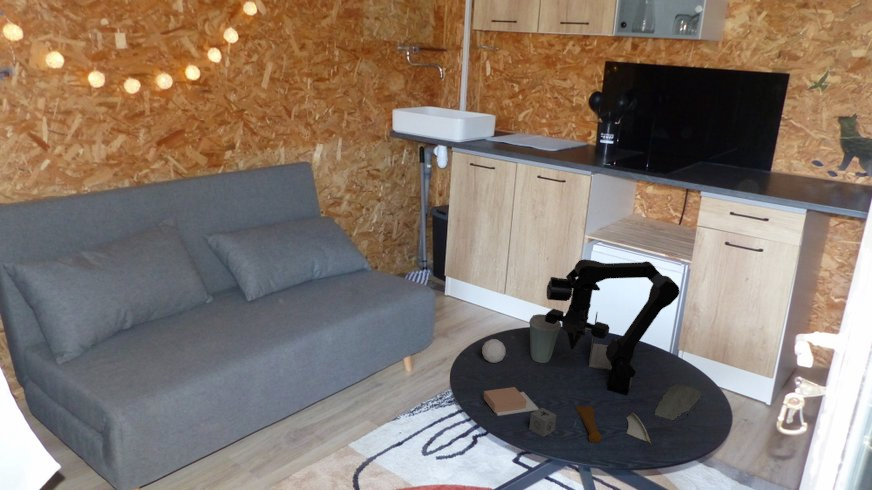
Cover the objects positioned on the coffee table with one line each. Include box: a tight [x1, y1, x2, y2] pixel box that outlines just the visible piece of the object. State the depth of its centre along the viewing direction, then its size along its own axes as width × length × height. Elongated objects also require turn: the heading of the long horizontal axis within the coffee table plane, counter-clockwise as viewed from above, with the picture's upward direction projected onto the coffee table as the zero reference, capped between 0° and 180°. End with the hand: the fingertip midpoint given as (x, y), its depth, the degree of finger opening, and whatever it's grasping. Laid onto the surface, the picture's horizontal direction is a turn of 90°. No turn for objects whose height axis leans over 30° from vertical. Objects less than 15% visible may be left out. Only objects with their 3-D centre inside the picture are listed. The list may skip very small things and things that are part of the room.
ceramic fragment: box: [625, 412, 652, 446], centre depth 196 cm, size 14×5×4 cm, turn 7°
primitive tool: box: [574, 405, 603, 444], centre depth 198 cm, size 19×6×4 cm, turn 0°
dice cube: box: [528, 407, 557, 438], centre depth 194 cm, size 5×5×5 cm
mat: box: [494, 391, 539, 417], centre depth 207 cm, size 13×10×1 cm
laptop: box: [588, 311, 612, 371], centre depth 237 cm, size 18×12×13 cm
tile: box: [483, 386, 527, 413], centre depth 206 cm, size 3×8×10 cm
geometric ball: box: [481, 338, 506, 364], centre depth 232 cm, size 8×8×8 cm
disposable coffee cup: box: [528, 313, 562, 364], centre depth 234 cm, size 11×11×15 cm
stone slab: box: [654, 383, 702, 421], centre depth 212 cm, size 22×3×10 cm
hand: (572, 348), depth 214 cm, fingers closed
